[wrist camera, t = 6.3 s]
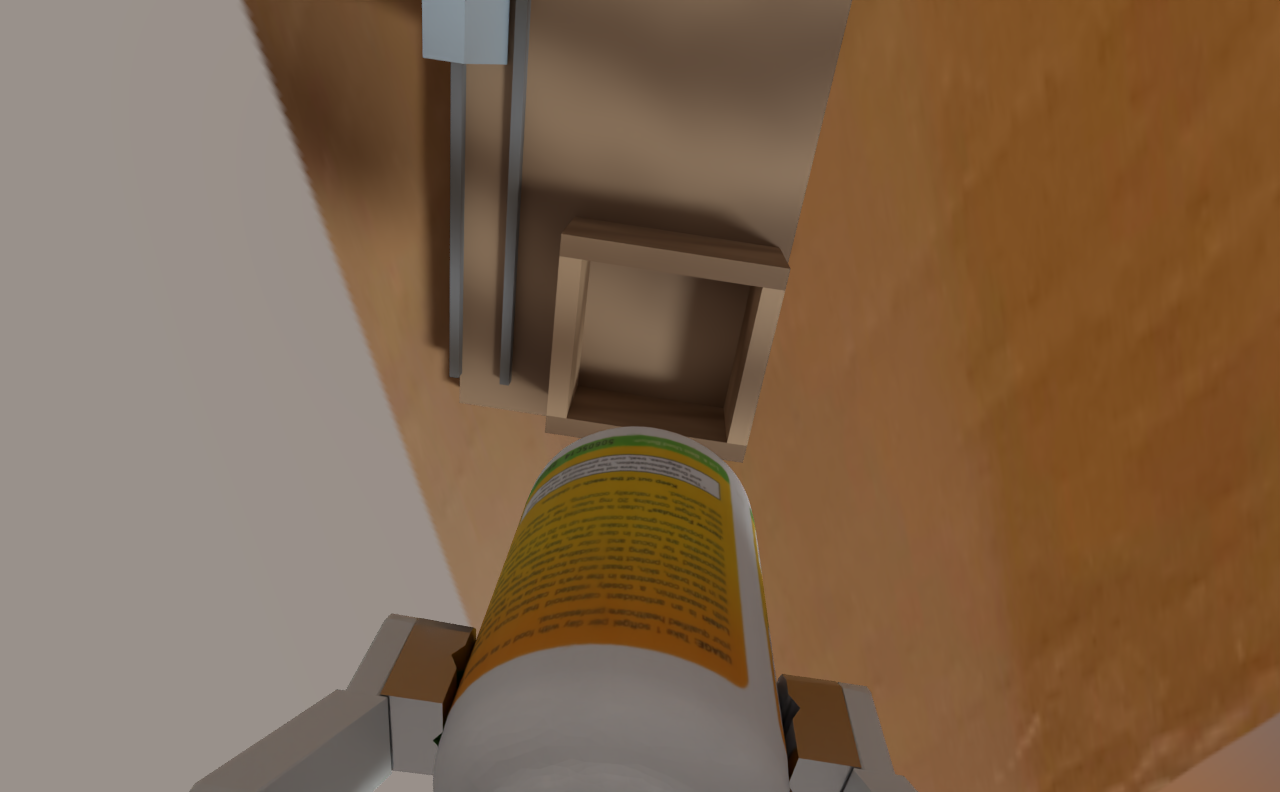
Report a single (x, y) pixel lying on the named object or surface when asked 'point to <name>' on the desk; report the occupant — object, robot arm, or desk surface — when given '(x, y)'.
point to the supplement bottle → (623, 634)
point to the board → (633, 208)
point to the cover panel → (466, 31)
